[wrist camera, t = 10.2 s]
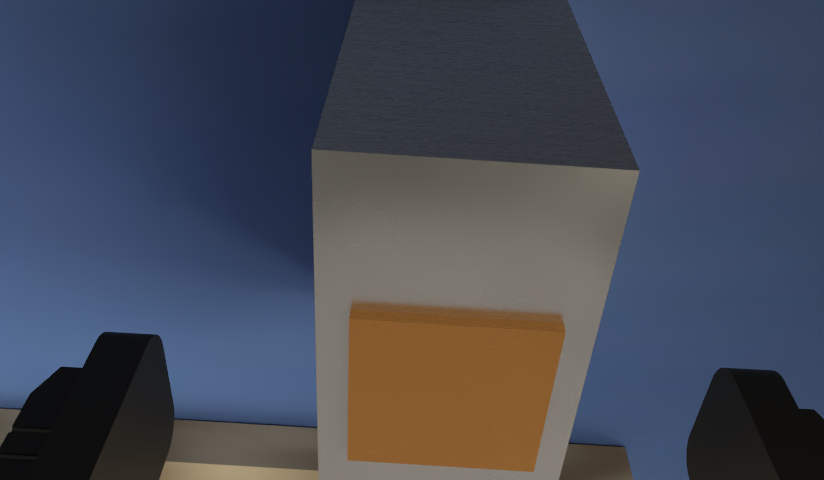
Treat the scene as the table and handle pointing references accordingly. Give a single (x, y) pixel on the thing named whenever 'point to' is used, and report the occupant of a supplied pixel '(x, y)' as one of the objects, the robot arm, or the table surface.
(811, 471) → the robot arm
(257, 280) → the table surface
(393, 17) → the white block orange patch
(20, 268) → the table surface
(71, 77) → the table surface
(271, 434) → the base plate
